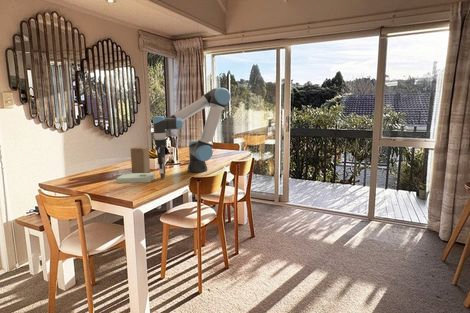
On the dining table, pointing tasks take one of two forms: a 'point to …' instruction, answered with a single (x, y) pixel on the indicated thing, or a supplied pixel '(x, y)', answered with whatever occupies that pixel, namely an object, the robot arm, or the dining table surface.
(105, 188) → the dining table surface
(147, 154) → the wooden block
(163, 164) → the walnut peg
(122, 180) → the board
